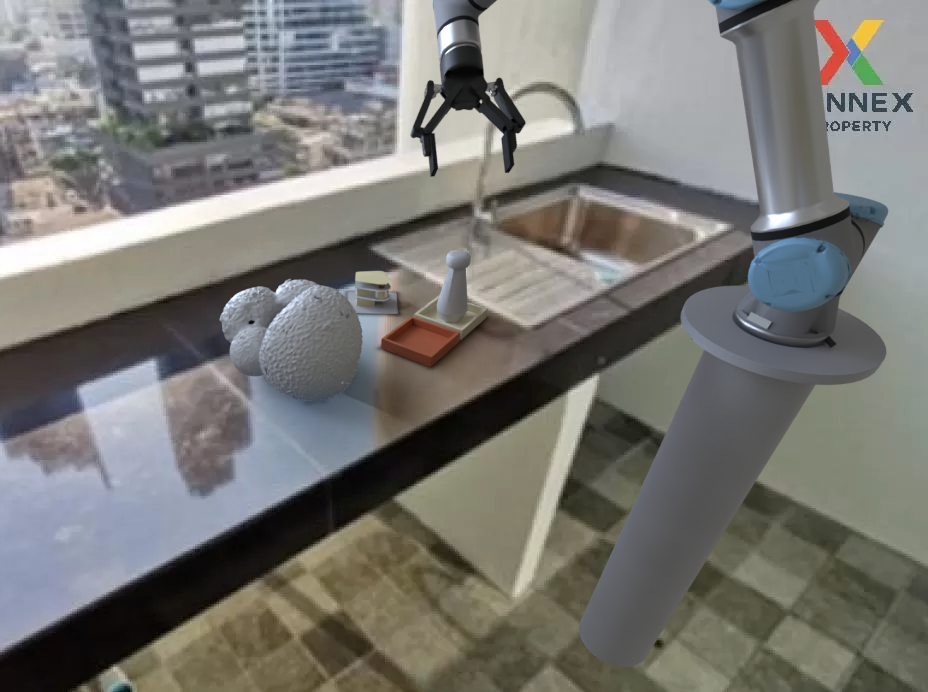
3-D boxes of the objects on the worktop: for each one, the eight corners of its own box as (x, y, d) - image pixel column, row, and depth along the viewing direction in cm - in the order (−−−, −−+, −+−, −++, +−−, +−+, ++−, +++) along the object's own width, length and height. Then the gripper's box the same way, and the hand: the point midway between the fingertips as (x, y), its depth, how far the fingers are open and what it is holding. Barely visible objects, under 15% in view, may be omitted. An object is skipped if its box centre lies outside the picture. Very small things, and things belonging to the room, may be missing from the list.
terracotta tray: (458, 341, 110) (460, 332, 108) (430, 367, 103) (431, 357, 102) (410, 325, 114) (411, 315, 113) (380, 348, 108) (381, 338, 107)
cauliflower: (323, 286, 111) (289, 208, 91) (397, 387, 102) (378, 325, 81) (231, 347, 112) (176, 284, 91) (296, 454, 102) (251, 409, 82)
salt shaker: (472, 317, 115) (482, 252, 107) (453, 328, 112) (463, 262, 104) (447, 307, 118) (455, 243, 110) (429, 317, 115) (436, 252, 107)
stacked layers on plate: (346, 313, 118) (346, 287, 115) (348, 292, 125) (348, 267, 121) (397, 314, 118) (399, 288, 114) (396, 292, 124) (398, 267, 121)
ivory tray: (486, 317, 116) (488, 308, 115) (461, 340, 110) (462, 330, 109) (439, 302, 121) (441, 293, 120) (413, 323, 115) (413, 313, 114)
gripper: (520, 69, 113) (532, 178, 111) (388, 75, 112) (398, 184, 110) (536, 40, 106) (549, 155, 104) (395, 45, 104) (406, 162, 102)
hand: (472, 171), depth 107 cm, fingers open, 13 cm apart
